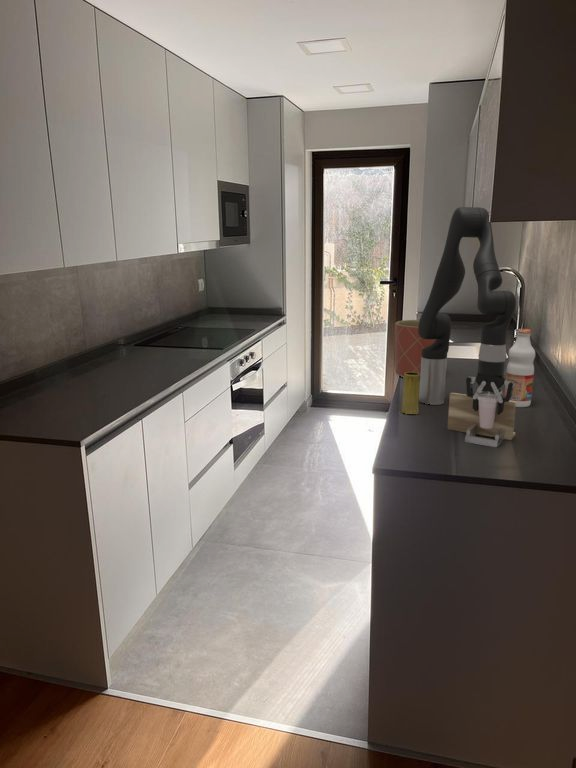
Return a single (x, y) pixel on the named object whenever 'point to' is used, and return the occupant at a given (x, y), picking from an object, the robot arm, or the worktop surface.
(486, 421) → the smoothie
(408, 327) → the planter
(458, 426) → the wall board
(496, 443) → the white u-shaped frame
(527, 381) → the fruit juice
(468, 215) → the robot arm
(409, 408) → the vase
